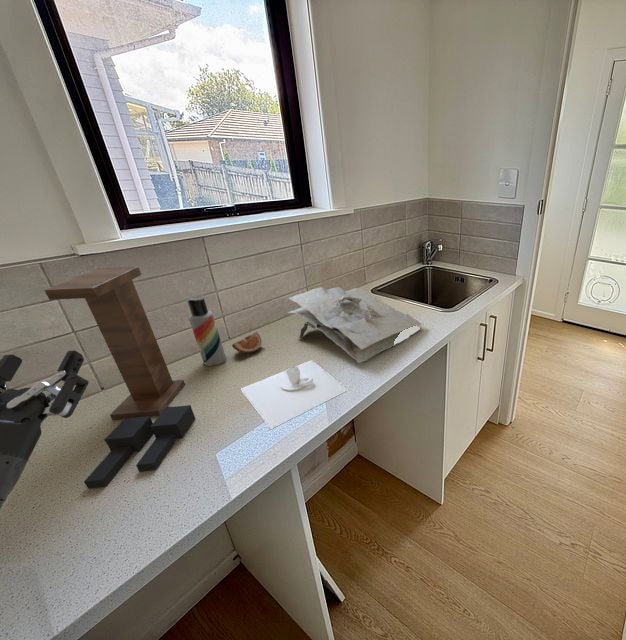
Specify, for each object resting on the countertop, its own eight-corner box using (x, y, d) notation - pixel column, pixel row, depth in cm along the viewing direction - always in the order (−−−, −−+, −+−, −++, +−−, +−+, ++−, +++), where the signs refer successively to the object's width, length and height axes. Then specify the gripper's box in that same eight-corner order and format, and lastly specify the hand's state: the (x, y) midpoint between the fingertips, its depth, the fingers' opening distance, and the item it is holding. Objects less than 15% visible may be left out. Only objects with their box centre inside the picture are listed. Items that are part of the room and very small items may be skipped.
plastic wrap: (430, 310, 114) (363, 337, 89) (420, 349, 121) (356, 384, 96) (358, 273, 129) (285, 288, 105) (354, 310, 137) (284, 331, 112)
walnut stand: (157, 418, 77) (98, 287, 63) (109, 423, 75) (37, 290, 61) (187, 382, 89) (143, 266, 75) (146, 385, 88) (93, 267, 74)
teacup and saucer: (318, 383, 89) (316, 371, 87) (289, 397, 84) (286, 383, 82) (303, 370, 94) (300, 357, 93) (275, 382, 89) (272, 369, 88)
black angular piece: (162, 469, 64) (154, 454, 63) (133, 472, 64) (125, 457, 62) (195, 418, 77) (190, 405, 75) (171, 420, 76) (166, 407, 74)
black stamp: (112, 485, 61) (103, 470, 59) (81, 489, 60) (71, 474, 59) (156, 430, 73) (150, 416, 72) (131, 432, 73) (124, 418, 71)
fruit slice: (243, 360, 99) (239, 346, 97) (229, 355, 101) (224, 340, 99) (267, 347, 105) (264, 333, 103) (253, 342, 108) (249, 329, 106)
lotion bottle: (199, 364, 97) (177, 301, 88) (214, 354, 102) (195, 293, 93) (215, 367, 95) (194, 303, 87) (230, 357, 100) (212, 295, 92)
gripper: (20, 450, 42) (78, 339, 51) (-118, 464, 40) (-33, 346, 49) (68, 462, 48) (112, 361, 57) (-49, 475, 46) (15, 368, 55)
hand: (45, 354), depth 53 cm, fingers open, 8 cm apart
